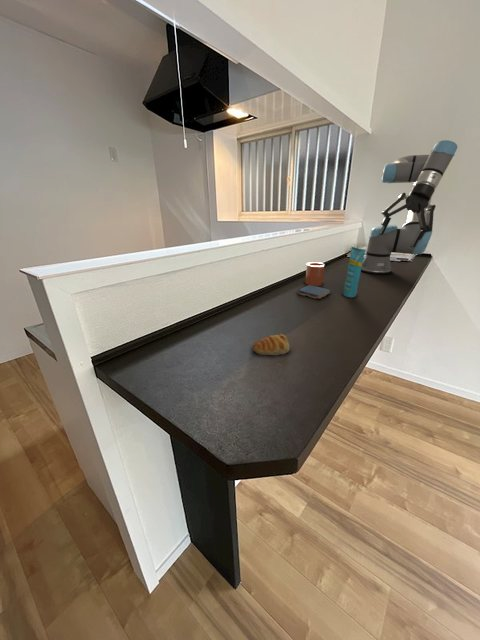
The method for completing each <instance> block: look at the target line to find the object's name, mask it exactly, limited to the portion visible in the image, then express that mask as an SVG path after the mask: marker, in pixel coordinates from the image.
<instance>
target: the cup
mask: <svg viewBox="0 0 480 640" xmlns="http://www.w3.org/2000/svg"><path fill="white" fill-rule="evenodd" d="M325 267H326V265H325V263H322V262H307V263H306V270H305V279H304V284H305V285H306V286H308V285H312V286H313V285H314V286H316V287H321V286H322V285H323V283H324V282H323V281H324V274H325Z"/></svg>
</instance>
